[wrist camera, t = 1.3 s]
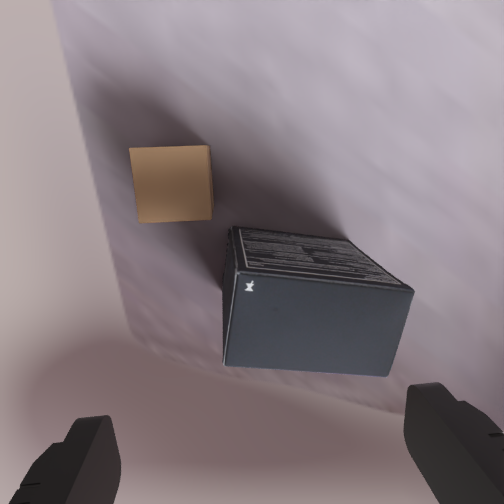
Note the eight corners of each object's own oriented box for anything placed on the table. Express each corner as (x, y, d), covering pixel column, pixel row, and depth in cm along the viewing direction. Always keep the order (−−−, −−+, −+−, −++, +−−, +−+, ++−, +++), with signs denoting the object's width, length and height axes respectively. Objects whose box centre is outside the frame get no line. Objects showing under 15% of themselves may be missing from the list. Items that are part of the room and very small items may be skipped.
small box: (219, 296, 30) (217, 372, 20) (228, 224, 28) (231, 266, 18) (336, 308, 31) (390, 384, 21) (352, 239, 29) (419, 286, 19)
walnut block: (150, 148, 26) (128, 148, 20) (210, 146, 26) (206, 145, 20) (156, 207, 27) (138, 223, 21) (214, 204, 27) (211, 219, 22)
